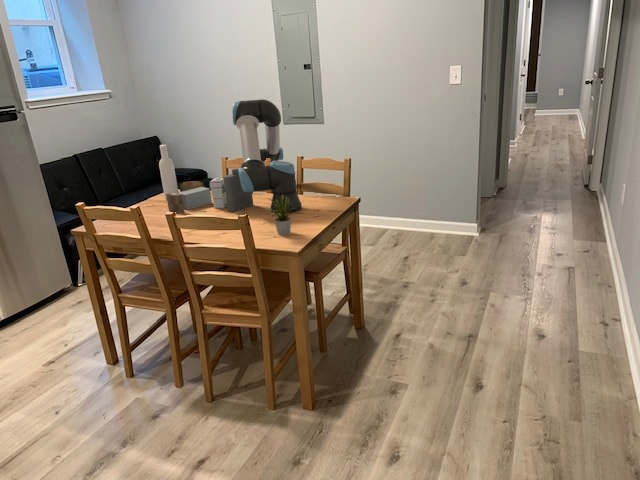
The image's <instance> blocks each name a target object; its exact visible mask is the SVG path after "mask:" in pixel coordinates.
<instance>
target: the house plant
mask: <svg viewBox="0 0 640 480" xmlns="http://www.w3.org/2000/svg"><path fill="white" fill-rule="evenodd" d="M284 197H285V196H284ZM284 197H283V195H282V197H281V205H280V204H279V202H278V201H277V200H276V203H277V205H276V203H275V202H274V201H272V198H271V199H270V198H268V197H267V198H266V199H268V200H269V201H271V203H272V202H273V203H274V205H275V208H276V209H277V210H272V209H271V204H270V203H267V202H265V204H266V205H269V206H270V207H268V210H267V212H269V213H270V214H269V217H271V218H273V217H276V218H274V224H275V228H276V231H277V234H278V236H287V235H290V234H291V226H292V225H291V223H292V217H290V216H292V214H291V213H288V212H287V210H288V208H289V204H290V203H289V204H288V202H289V199H288V201H287V197H286V200H285V205H284V207H283V199H284ZM286 202H287V204H286ZM291 204H292V203H291ZM291 204H290V205H291ZM272 207H273V206H272ZM273 208H274V207H273ZM275 208H274V209H275ZM293 209H296V208H293ZM291 210H292V209H291ZM271 212H272V213H271ZM273 212H274V213H273ZM275 212H276V213H275Z"/></svg>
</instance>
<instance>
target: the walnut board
mask: <svg viewBox="0 0 640 480" xmlns="http://www.w3.org/2000/svg"><path fill="white" fill-rule="evenodd" d="M166 197H167V200H166V201H167V202H166V203H167V207H168V211H170V212H174V211H175V212H174V213H179V214H181V213H185V209H184V207H183V201H182V195H181V194H175V193H167V194H166Z"/></svg>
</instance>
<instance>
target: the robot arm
mask: <svg viewBox="0 0 640 480" xmlns="http://www.w3.org/2000/svg"><path fill="white" fill-rule="evenodd" d="M232 123H233V125H234V126H236V127H237V129H238V130H239V133H240V144H241V152H242V161H243V162H242V163H241V165H240V168H237V169H238V173H239V178H240V182H241V186H242V189H243V191H244V192H252V193H254V192H265V191H272V198H271V200H272V201H274V202H275V203H276V200H277V201H278V202H279V204H280V205H281V197H282V195H283V197H284V196H285V197H284V199H283V207H284V205H285V200H286V197H287V201H288V199H289V202H288V204H289V203H290V204H291V203H292V204H291V205H290V204H289V208H288V210H287V212H288V214H291V213H296V212H300V211H301V210H302V209H303V206H302V202H301V201H300V200H301V199H300V197H299V195H298V190H297V181H296V180H297V179H296V170H295V165H294V164H293V163H291V162H290V161H289V162H288V161H283V160H284V151H283V147H281V145H280V144H281V143H280V124H281V123H282V114H281V112H280V110H279V108H278V107H277V105H275V104H274V103H273V102H272V101H270V100H267V99H262V98H261V99H252V100H239V101H234V102H233V104H232ZM262 123H263V124H264V126H265V142H266V143H265V144H266V148H260V142H259V135H258V128H259V125H260V124H262ZM266 158H271V159H272V161H269V165H265V162H264V161H265V160H266ZM209 189H210V190H211V185H210V184H209ZM272 201H271V203H270V205H271V206H270V210H271V209H272V210H277V209H276V208H275V205H274V203H273V202H272ZM286 204H287V202H286ZM276 205H277V203H276ZM272 206H273V207H274V208H275V209H274V208H273V207H272ZM293 208H296V209H293ZM291 209H292V210H291ZM275 213H276V212H275ZM275 213H274V212H272V214H275ZM276 214H277V213H276Z"/></svg>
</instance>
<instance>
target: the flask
mask: <svg viewBox="0 0 640 480" xmlns="http://www.w3.org/2000/svg"><path fill="white" fill-rule="evenodd" d="M238 169H239V168H232V169H231V173H230V174H227V175H224V176H223V177H222V178H223V180H224V187H225V195H226V202H227V206H226V208H227V212H228V213H235V212H238V211H241V210H243V209H246V208H252V207H253V206H254V200H253V192H244V191H243V189H242V186H241V182H240V178H239V173H238Z"/></svg>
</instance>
